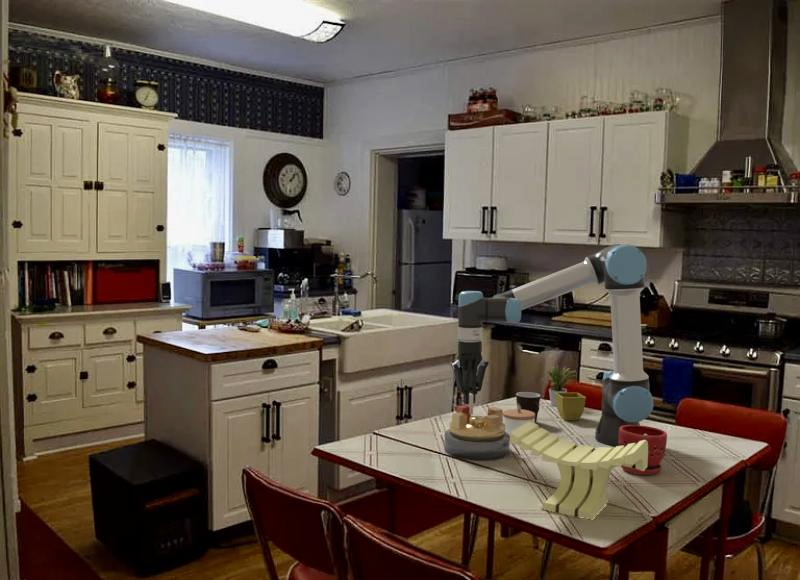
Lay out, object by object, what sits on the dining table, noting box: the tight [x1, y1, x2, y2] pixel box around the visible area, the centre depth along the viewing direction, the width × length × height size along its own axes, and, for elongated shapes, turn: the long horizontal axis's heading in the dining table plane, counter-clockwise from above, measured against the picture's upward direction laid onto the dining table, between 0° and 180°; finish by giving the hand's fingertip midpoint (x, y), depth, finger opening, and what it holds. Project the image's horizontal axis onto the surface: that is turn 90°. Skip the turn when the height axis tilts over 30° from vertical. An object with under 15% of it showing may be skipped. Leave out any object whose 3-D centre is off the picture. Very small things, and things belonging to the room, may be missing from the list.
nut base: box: [443, 428, 511, 462], centre depth 226 cm, size 20×20×5 cm
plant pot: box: [618, 424, 668, 476], centre depth 210 cm, size 13×13×12 cm
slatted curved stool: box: [510, 422, 648, 519], centre depth 182 cm, size 30×16×18 cm, turn 59°
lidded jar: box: [502, 408, 535, 436], centre depth 244 cm, size 11×11×9 cm
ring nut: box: [449, 404, 506, 442], centre depth 225 cm, size 17×17×7 cm
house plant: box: [543, 364, 577, 407], centre depth 288 cm, size 14×14×16 cm
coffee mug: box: [515, 391, 541, 424], centre depth 260 cm, size 12×9×10 cm
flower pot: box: [556, 392, 587, 421], centre depth 268 cm, size 9×9×9 cm
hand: (469, 413), depth 232 cm, fingers closed
